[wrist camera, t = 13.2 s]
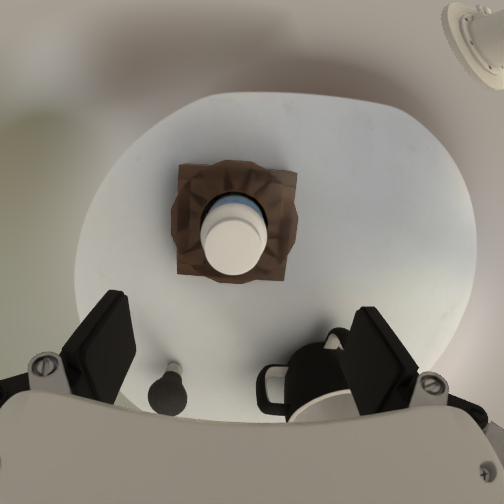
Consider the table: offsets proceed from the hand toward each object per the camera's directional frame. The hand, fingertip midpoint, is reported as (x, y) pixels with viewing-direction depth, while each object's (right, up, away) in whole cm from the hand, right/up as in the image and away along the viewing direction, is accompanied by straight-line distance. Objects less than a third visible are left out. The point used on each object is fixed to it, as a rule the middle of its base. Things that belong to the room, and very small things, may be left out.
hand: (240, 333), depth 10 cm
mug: (+10, -14, +30) cm, 35 cm away
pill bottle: (-2, +7, +22) cm, 23 cm away
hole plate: (-2, +7, +22) cm, 23 cm away
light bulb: (-12, -15, +29) cm, 35 cm away
